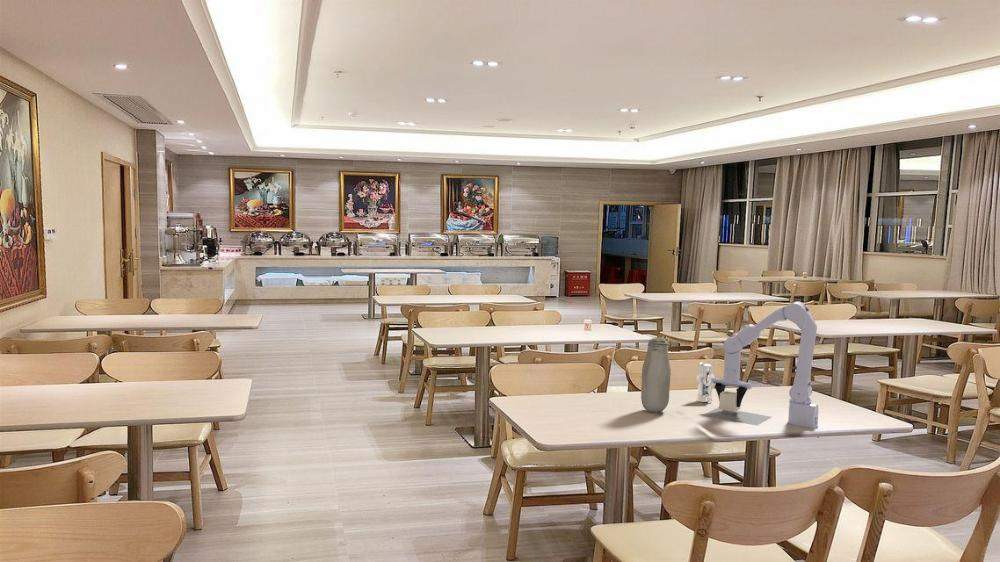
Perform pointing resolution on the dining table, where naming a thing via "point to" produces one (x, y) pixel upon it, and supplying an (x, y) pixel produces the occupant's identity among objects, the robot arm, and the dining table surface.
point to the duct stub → (729, 412)
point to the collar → (728, 401)
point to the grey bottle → (656, 376)
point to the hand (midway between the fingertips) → (729, 405)
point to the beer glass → (705, 381)
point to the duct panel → (738, 416)
